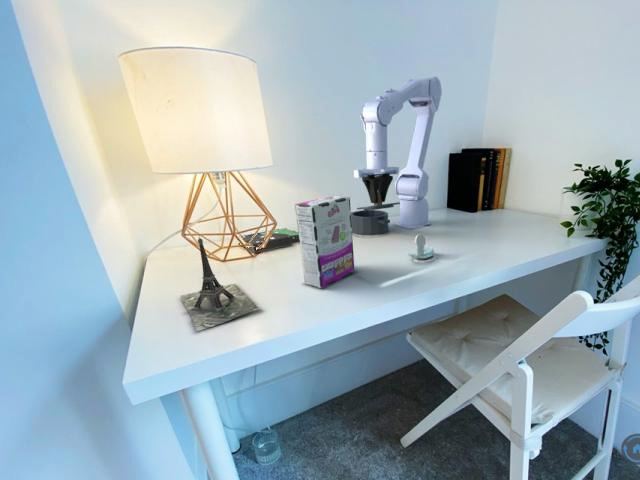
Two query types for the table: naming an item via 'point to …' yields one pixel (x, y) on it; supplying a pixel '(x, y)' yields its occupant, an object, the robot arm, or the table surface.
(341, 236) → the candy bar box
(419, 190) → the robot arm
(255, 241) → the disk drive
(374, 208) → the lid
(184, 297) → the eiffel tower figurine
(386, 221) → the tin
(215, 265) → the table surface
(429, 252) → the pacifier
